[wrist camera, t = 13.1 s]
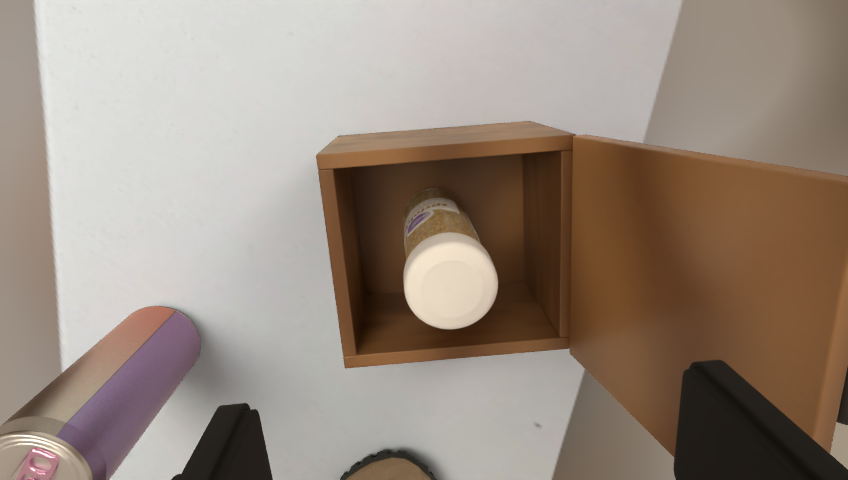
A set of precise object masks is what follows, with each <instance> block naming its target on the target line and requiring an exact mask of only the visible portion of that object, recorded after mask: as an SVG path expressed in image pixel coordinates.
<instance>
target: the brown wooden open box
mask: <svg viewBox="0 0 848 480" xmlns="http://www.w3.org/2000/svg"><path fill="white" fill-rule="evenodd" d="M573 136H576V134H572V133H569V132H565V131H562V130H559V129H555V128H552V127H548V126H545V125H541V124H538V123H535V122H531V121H524V122H511V123H498V124H485V125H472V126H459V127H447V128H434V129H421V130H408V131H395V132H382V133H370V134H357V135H344V136H338V137H337V138H335V139H334V140H333V141H332V142H331V143H330V144H329V145H327V146H326V147H325V148H324V149H323V150H322V151H321V152H319V153H318V154H317V155H316V158H317V166H318V169H319V171H318V173H319V180H320V188H321V195H322V202H323V210H324V217H325V225H326V232H327V239H328V247H329V254H330V262H331V269H332V276H333V284H334V291H335V299H336V306H337V313H338V321H339V328H340V335H341V343H342V350H343V356H344V357H343V358H344V365H345V368H354V367H365V366H377V365H388V364H399V363H411V362H422V361H433V360H444V359H456V358H467V357H478V356H490V355H501V354H512V353H524V352H535V351H546V350H558V349H569V348H570V304H571V239H572V174H573ZM432 187H438V188H442V189H447V190H449V191H451V192H452V193H454V194H455V195H456V196H457V197H458V198H459V200H460V201H461V202H462V204H463V207H464V210H465V212H466V214H467V215H468V217H469V219H470V221H471V223H472V225H473V227H474V229H475V231H476V233H477V235H478V238H479V240H480V243H481V245H482V246H483V247H484V248H485V249H486V251H487V252H488V254H489V256H490V258H491V260H492V262H493V264H494V267H495V270H496V272H497V277H498V290H497V295H496V298H495V301H494V303H493V305H492V306H491V308H490V309H489V311H488V312H487V313H486V314H485V315H484V316H483V317H482V318H481V319H480V320H478V321H477V322H475V323H473V324H471V325H469V326H466V327H463V328H459V329H440V328H436V327H433V326H431V325H429V324H426V323H425V322H423V321H422V320H420V319H419V318H418V317H417V316H416V315H415V314H414V313H413V311H412V310H411V308H410V307H409V305H408V303H407V300H406V297H405V293H404V278H403V275H404V267H405V264H406V251H405V245H404V223H403V215H404V210H405V207H406V205H407V203H408V201H409V199H410V198H411V197H412V196H413V195H414V194H416V193H418V192H419V191H422V190H424V189H427V188H432Z"/></svg>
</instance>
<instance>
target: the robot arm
mask: <svg viewBox="0 0 848 480" xmlns="http://www.w3.org/2000/svg"><path fill="white" fill-rule="evenodd" d="M674 475H675V478H676V480H848V470H847V469H846V468H845V467H844V466H843V465H842V464H841V463H839V462H838V461H837V460H836V459H835V458H834V457H833V456H832V455H830V454H829V453H828V452H827V451H826V450H825V449H824V448H822V447H821V446H820V445H819V444H818V443H817V442H816V441H814V440H813V439H812V438H811V437H810V436H809V435H808V434H806V433H805V432H804V431H803V430H802V429H801V428H800V427H798V426H797V425H796V424H795V423H794V422H793V421H792V420H790V419H789V418H788V417H787V416H786V415H785V414H784V413H782V412H781V411H780V410H779V409H778V408H777V407H776V406H774V405H773V404H772V403H771V402H770V401H769V400H768V399H766V398H765V397H764V396H763V395H762V394H761V393H760V392H758V391H757V390H756V389H755V388H754V387H753V386H752V385H750V384H749V383H748V382H747V381H746V380H745V379H744V378H742V377H741V376H740V375H739V374H738V373H737V372H736V371H735V370H733V369H732V368H731V367H730V366H729V365H728V364H727V363H725V362H724V361H722V360H708V361H697V362H693V363H691V365H690V367H689V369H686V370H684V372H683V376H682V386H681V396H680V407H679V417H678V428H677V438H676V448H675V459H674ZM172 480H273V479H272V474H271V469H270V464H269V460H268V455H267V450H266V445H265V440H264V436H263V431H262V426H261V421H260V416H259V413H258V411H257V410H256V409H253V410H250V407H249V405H248V404H247V403H243V404H232V405H221V406H219V407H218V408H217V410H216V412H215V413H214V415H213V417H212V419H211V421H210V423H209V424H208V426H207V428H206V430H205V432H204V434H203V435H202V437H201V439H200V441H199V443H198V445H197V446H196V448H195V450H194V452H193V454H192V456H191V457H190V459H189V461H188V463H187V465H186V466H185V468H184V470H183V472H182V474H178V475H176V476H174V477H173V478H172Z"/></svg>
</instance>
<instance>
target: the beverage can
mask: <svg viewBox="0 0 848 480" xmlns="http://www.w3.org/2000/svg"><path fill="white" fill-rule="evenodd" d="M200 349H201V342H200V337H199V334H198V331H197V329H196V327H195V325H194V324H193V323H192V321H191V320H190V319H189V318H188V317H186V316H185V315H184V314H182V313H181V312H179V311H177V310H174V309H171V308H167V307H161V306H150V307H145V308H142V309H139V310H137V311H135V312H133V313H132V314H131V315H130V316H128V317H127V318H126V319H125V320H124V321H123V322H121V323H120V324H119V325H118V326H117V327H116V328H114V329H113V330H112V331H111V332H110V333H109V334H107V335H106V336H105V337H104V338H103V339H102V340H100V341H99V342H98V343H97V344H96V345H95V346H93V347H92V348H91V349H90V350H89V351H88V352H86V353H85V354H84V355H83V356H82V357H81V358H79V359H78V360H77V361H76V362H75V363H74V364H72V365H71V366H70V367H69V368H68V369H67V370H65V371H64V372H63V373H62V374H61V375H60V376H59V377H57V378H56V379H55V380H54V381H53V382H51V383H50V384H49V385H48V386H47V387H46V388H44V389H43V390H42V391H41V392H40V393H39V394H37V395H36V396H35V397H34V398H33V399H32V400H30V401H29V402H28V403H27V404H26V405H25V406H24V407H22V408H21V409H20V410H19V411H18V412H16V413H15V414H14V415H13V416H12V417H11V418H9V419H8V420H7V421H6V422H5V423H4V424H3V425H1V426H0V480H109V479H110V478H111V476H112V475H113V474H114V472H115V471H116V470H117V468H118V467H119V466H120V464H121V463H122V461H123V460H124V459H125V457H126V456H127V455H128V453H129V452H130V451H131V449H132V448H133V447H134V445H135V444H136V442H137V441H138V440H139V438H140V437H141V436H142V434H143V433H144V432H145V430H146V429H147V427H148V426H149V425H150V423H151V422H152V421H153V419H154V418H155V417H156V415H157V414H158V412H159V411H160V410H161V408H162V407H163V406H164V404H165V403H166V402H167V400H168V399H169V397H170V396H171V395H172V393H173V392H174V391H175V389H176V388H177V387H178V385H179V384H180V382H181V381H182V380H183V378H184V377H185V376H186V374H187V373H188V372H189V370H190V369H191V368H192V366H193V365H194V363H195V362H196V360H197V359H198V357H199V354H200Z"/></svg>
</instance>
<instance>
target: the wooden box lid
mask: <svg viewBox="0 0 848 480" xmlns="http://www.w3.org/2000/svg"><path fill="white" fill-rule="evenodd" d="M570 354H571V355H572V356H573V357H574V358H575V359H576V360H577V361H578V362H579V363H580V364H581V365H582V366H583V367H584V368H585V369H586V370H587V371H588V372H589V373H590V374H591V375H592V376H593V377H594V378H595V379H596V380H597V381H598V382H599V383H600V384H601V385H602V386H603V387H604V388H605V389H606V390H607V391H608V392H609V393H610V394H611V395H612V396H613V397H614V398H615V399H616V400H617V401H618V402H619V403H620V404H621V405H622V406H623V407H624V408H625V409H626V410H627V411H628V412H629V413H630V414H631V415H632V416H633V417H634V418H635V419H636V420H637V421H638V422H639V423H640V424H641V425H642V426H643V427H644V428H645V429H646V430H647V431H648V432H649V433H650V434H651V435H652V436H653V437H654V438H655V439H656V440H657V441H658V442H659V443H660V444H661V445H662V446H663V447H664V448H665V449H666V450H667V451H668V452H669V453H670V454H671V455H672V456H673V457H674V458H675V448H676V438H677V428H678V417H679V407H680V396H681V386H682V376H683V372H684V370H686V369H689V367H690V365H691V363H693V362H697V361H708V360H722V361H724V362H725V363H727V364H728V365H729V366H730V367H731V368H732V369H733V370H735V371H736V372H737V373H738V374H739V375H740V376H741V377H742V378H744V379H745V380H746V381H747V382H748V383H749V384H750V385H752V386H753V387H754V388H755V389H756V390H757V391H758V392H760V393H761V394H762V395H763V396H764V397H765V398H766V399H768V400H769V401H770V402H771V403H772V404H773V405H774V406H776V407H777V408H778V409H779V410H780V411H781V412H782V413H784V414H785V415H786V416H787V417H788V418H789V419H790V420H792V421H793V422H794V423H795V424H796V425H797V426H798V427H800V428H801V429H802V430H803V431H804V432H805V433H806V434H808V435H809V436H810V437H811V438H812V439H813V440H814V441H816V442H817V443H818V444H819V445H820V446H821V447H822V448H824V449H825V450H826V451H827V452H828V453H829V454H830V450H831V446H832V441H833V436H834V431H835V426H836V422H838V423H841V424H845V425H848V176H843V175H837V174H831V173H825V172H818V171H812V170H805V169H799V168H793V167H787V166H780V165H774V164H767V163H761V162H755V161H749V160H743V159H736V158H730V157H724V156H717V155H711V154H705V153H699V152H692V151H686V150H679V149H673V148H666V147H660V146H654V145H648V144H642V143H636V142H629V141H623V140H617V139H610V138H604V137H598V136H591V135H578V136H573V174H572V239H571V304H570Z"/></svg>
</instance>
